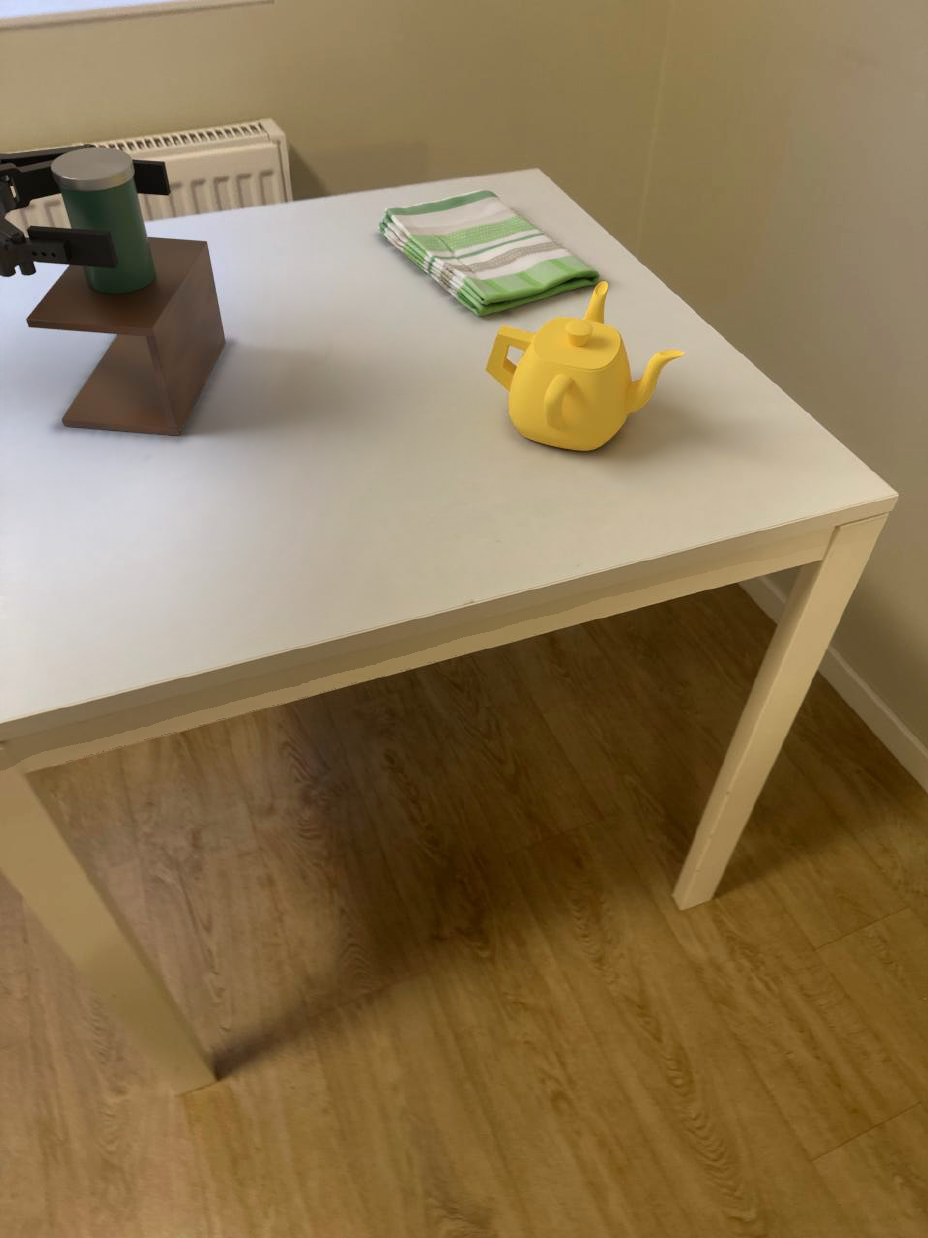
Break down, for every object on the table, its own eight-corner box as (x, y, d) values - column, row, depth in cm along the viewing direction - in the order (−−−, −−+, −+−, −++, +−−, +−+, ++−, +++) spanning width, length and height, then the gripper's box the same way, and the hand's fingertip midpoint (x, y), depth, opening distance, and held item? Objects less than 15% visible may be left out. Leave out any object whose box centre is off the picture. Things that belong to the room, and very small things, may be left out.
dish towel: (491, 205, 120) (492, 177, 117) (603, 283, 107) (607, 253, 105) (375, 237, 114) (373, 208, 111) (479, 323, 101) (480, 293, 98)
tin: (95, 301, 81) (61, 184, 73) (76, 269, 84) (42, 154, 77) (167, 285, 83) (141, 170, 76) (146, 254, 87) (120, 141, 79)
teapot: (665, 441, 88) (687, 348, 80) (540, 477, 84) (551, 382, 76) (592, 365, 96) (605, 275, 88) (474, 395, 92) (478, 302, 84)
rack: (123, 334, 97) (94, 232, 89) (226, 343, 97) (207, 240, 89) (63, 426, 87) (25, 318, 79) (178, 436, 86) (152, 329, 78)
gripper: (-19, 178, 91) (193, 193, 90) (-159, 309, 74) (99, 329, 73) (-49, 95, 86) (177, 110, 85) (-207, 216, 69) (72, 236, 68)
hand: (141, 212), depth 79 cm, fingers open, 13 cm apart
